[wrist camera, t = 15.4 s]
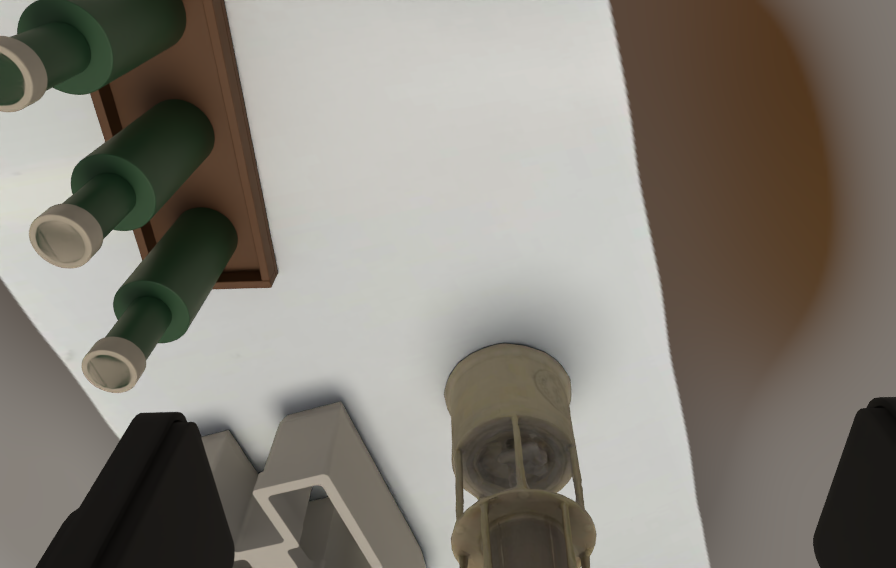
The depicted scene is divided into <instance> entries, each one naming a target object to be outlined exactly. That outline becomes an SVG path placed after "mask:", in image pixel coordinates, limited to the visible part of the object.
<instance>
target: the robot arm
mask: <svg viewBox="0 0 896 568" xmlns="http://www.w3.org/2000/svg"><path fill="white" fill-rule="evenodd" d="M813 546H814V552H815V556H816V559H817V561H818V563H819V566H820V568H896V397H880V398H874V399H873V400H871V401H870V402H869V404H868V406H867V408H863V409H860V410H859V411H858V412H857V414H856V416H855V418H854V421H853V424H852V427H851V430H850V433H849V436H848V438H847V441H846V445H845V447H844V450H843V453H842V456H841V459H840V462H839V465H838V467H837V470H836V473H835V476H834V479H833V482H832V485H831V487H830V491H829V493H828V496H827V499H826V502H825V505H824V508H823V510H822V513H821V516H820V519H819V522H818V525H817V528H816V531H815V534H814V538H813ZM234 558H235V547H234V541H233V538H232V535H231V532H230V529H229V525H228V522H227V519H226V516H225V512H224V509H223V506H222V503H221V500H220V496H219V493H218V490H217V487H216V483H215V480H214V477H213V474H212V470H211V467H210V464H209V461H208V458H207V454H206V451H205V448H204V445H203V441H202V438H201V435H200V432H199V429H198V426H197V425H196V424H195V423H194V422H187V420H186V418H185V416H184V415H183V414H182V413H180V412H159V413H140V414H138V415H136V416H135V418H134V419H133V420H132V422H131V423H130V425H129V426H128V428H127V430H126V431H125V433H124V435H123V436H122V438H121V440H120V441H119V443H118V445H117V446H116V448H115V450H114V451H113V453H112V454H111V456H110V458H109V459H108V461H107V463H106V464H105V466H104V468H103V469H102V471H101V473H100V474H99V476H98V478H97V479H96V481H95V482H94V484H93V486H92V487H91V489H90V491H89V492H88V494H87V496H86V497H85V499H84V501H83V502H82V504H81V506H80V507H79V508H78V509H77V510H76V511H74V512H72V513H71V514H70V515H69V516H68V518H67V519H66V520H65V521H64V523H63V524H62V526H61V527H60V529H59V530H58V532H57V534H56V535H55V537H54V538H53V540H52V542H51V543H50V545H49V547H48V548H47V550H46V551H45V553H44V555H43V556H42V558H41V560H40V561H39V563H38V564H37V566H36V568H233V565H234Z"/></svg>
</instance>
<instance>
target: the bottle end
mask: <svg viewBox="0 0 896 568" xmlns="http://www.w3.org/2000/svg"><path fill="white" fill-rule="evenodd" d="M237 244H238V237H237V232H236V230H235V228H234V226H233V224H232V223H231V222H230V220H229V219H228V218H227V217H225V216H224V215H223V214H221V213H220V212H218V211H216V210H213V209H210V208H204V207H197V208H192V209H189V210H187V211H185V212H184V213H182V214H181V215H180V216H179V218H178V219H177V220H176V221H175V222H174V224H173V225H172V226H171V227H170V228H169V230H168V231H167V232H166V233H165V234H164V236H163V237H162V238H161V239H160V240H159V242H158V243H157V244H156V245H155V246H154V248H153V249H152V250H151V251H150V252H149V254H148V255H147V256H146V257H145V258H144V260H143V261H142V262H141V263H140V264H139V266H138V267H137V268H136V269H135V271H134V272H133V273H132V274H131V275H130V277H129V278H128V279H127V280H126V281H125V283H124V284H123V285H122V286H121V287H120V289H119V290H118V291H117V293H116V295H115V297H114V302H113V307H114V312H115V315H116V317H117V319H118V321H117V323H116V324H115V325H114V326H113V328H112V329H111V330H110V332H109V333H108V334H107V335H106V337H105V338H102V339H100V340H99V341H97V342H96V343H95V344H94V346H93V347H92V348H91V349H90V351H89V352H88V353H87V354H86V356H85V357H84V359H83V361H82V371H83V373H84V375H85V377H86V378H87V380H88V381H89V382H90V383H91V384H93V385H94V386H95V387H97V388H99V389H101V390H104V391H107V392H112V393H121V392H126V391H128V390H130V389H131V388H133V387H134V386H135V384H136V383H137V381H138V380H139V378H140V376H141V375H142V373H143V372H144V370H145V368H146V360H147V359H148V357H149V355H150V354H151V352H152V351H153V349H154V348H155V346H156V345H157V343H168V342H172V341H174V340H177V339H178V338H180V337H181V336H183V335H184V334H185V332H186V331H187V329H188V328H189V326H190V324H191V323H192V321H193V320H194V318H195V316H196V315H197V313H198V311H199V310H200V308H201V306H202V305H203V303H204V301H205V300H206V298H207V296H208V295H209V293H210V291H211V290H212V288H213V287H214V285H215V283H216V282H217V280H218V278H219V277H220V275H221V273H222V272H223V270H224V268H225V267H226V265H227V263H228V262H229V260H230V259H231V257H232V255H233V254H234V252H235V250H236V248H237Z"/></svg>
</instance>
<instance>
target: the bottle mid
mask: <svg viewBox="0 0 896 568" xmlns="http://www.w3.org/2000/svg"><path fill="white" fill-rule="evenodd" d="M214 141H215V137H214V131H213V127H212V125H211V123H210V121H209V119H208V118H207V116H206V115H205V114H204V113H203V112H202V111H201V110H200V109H199V108H197V107H196V106H195V105H193V104H191V103H189V102H186V101H183V100H179V99H168V100H164V101H161V102H159V103H157V104H156V105H155V106H153V107H152V108H151V109H149V110H148V111H147V112H145V113H144V114H143V115H141V116H140V117H139V118H137V119H136V120H135V121H133V122H132V123H131V124H129V125H128V126H127V127H125V128H124V129H123V130H121V131H120V132H119V133H117V134H116V135H115V136H113V137H112V138H111V139H109V140H108V141H107V142H105V143H104V144H103V145H101V146H100V147H98V148H97V149H96V150H94V151H93V152H92V153H90V154H89V155H88V156H86V157H85V158H84V159H82V160H81V161H80V162H79V163H78V164H77V165H76V167H75V168H74V170H73V173H72V177H71V189H72V193H73V195H72V196H71V197H70V198H68V199H67V200H66V201H65V202H63V203H62V204H57V205H54V206H52V207H50V208H49V209H47V210H46V211H45V212H44V213H42V214H41V215H40V216H39V217H37V218H36V219H35V220H34V221H33V222H32V224H31V226H30V230H29V238H30V242H31V244H32V246H33V248H34V249H35V251H36V252H37V253H38V254H39V255H40V256H41V257H42V258H43V259H44V260H46V261H47V262H49V263H51V264H53V265H55V266H58V267H62V268H77V267H80V266H82V265H84V264H85V263H87V262H88V261H89V260H90V259H91V258H92V257H93V256H94V254H95V253H96V252H97V251H98V250H99V249H100V248H101V246H102V243H103V239H104V238H105V237H106V236H107V235H108V234H109V233H110V232H111V231H112V230H118V231H129V230H135V229H138V228H140V227H142V226H144V225H145V224H147V223H148V222H149V221H150V220H151V219H152V218H153V216H154V215H155V214H156V213H157V212H158V211H159V210H160V209H161V208H162V207H163V205H164V204H165V203H166V202H167V201H168V200H169V199H170V198H171V197H172V196H173V194H174V193H175V192H176V191H177V190H178V189H179V188H180V187H181V186H182V185H183V183H184V182H185V181H186V180H187V179H188V178H189V177H190V176H191V175H192V174H193V172H194V171H195V170H196V169H197V168H198V167H199V166H200V165H201V164H202V162H203V161H204V160H205V159H206V158H207V157H208V156H209V155H210V153H211V151H212V149H213V147H214Z"/></svg>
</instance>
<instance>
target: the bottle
mask: <svg viewBox="0 0 896 568" xmlns="http://www.w3.org/2000/svg"><path fill="white" fill-rule="evenodd" d="M185 27H186V12H185V8H184V5H183V2H182V0H38V1H35V2H34V3H32V4H30V5H29V6H28V7H27V8H26V9H25V10H24V12H23V13H22V15H21V17H20V20H19V23H18V28H17V35H14V36H11V37H6V36H0V111H3V112H15V111H19V110H21V109H23V108H25V107H27V106H29V105H31V104H33V103H35V102H36V101H38V100H39V99H41V97H42V96H43V95H44V93H45V91H46V90H48V89H50V88H52V87H53V88H55V89H57V90H59V91H62V92H65V93H69V94H76V95H83V94H89V93H92V92H95V91H97V90H99V89H100V88H102V87H104V86H105V85H107V84H109V83H111V82H112V81H114V80H116V79H117V78H119V77H121V76H123V75H124V74H126V73H128V72H129V71H131V70H133V69H134V68H136V67H138V66H140V65H141V64H143V63H145V62H146V61H148V60H150V59H151V58H153V57H155V56H157V55H158V54H160V53H162V52H163V51H165V50H167V49H168V48H170V47H172V46H174V45H175V44H176V43H177V42H178V41H179V40H180V39H181V37H182V36H183V33H184V31H185Z"/></svg>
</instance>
